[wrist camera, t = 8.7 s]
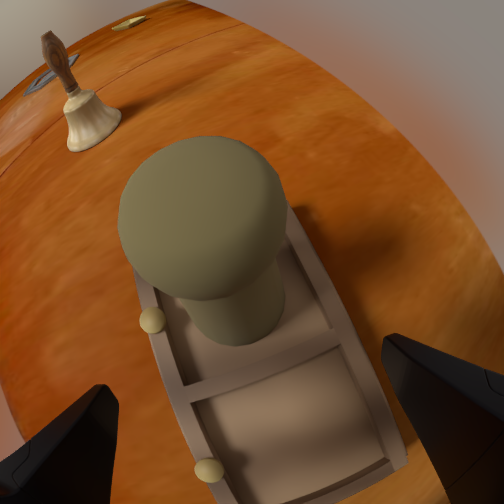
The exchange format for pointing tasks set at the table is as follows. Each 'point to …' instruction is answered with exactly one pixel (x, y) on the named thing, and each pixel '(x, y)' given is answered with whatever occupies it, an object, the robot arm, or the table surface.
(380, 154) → the table surface
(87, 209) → the table surface
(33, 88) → the grey hexagonal frame
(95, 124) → the hand bell
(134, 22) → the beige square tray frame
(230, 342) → the olive pepper mill
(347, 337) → the divided tray
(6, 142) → the table surface
